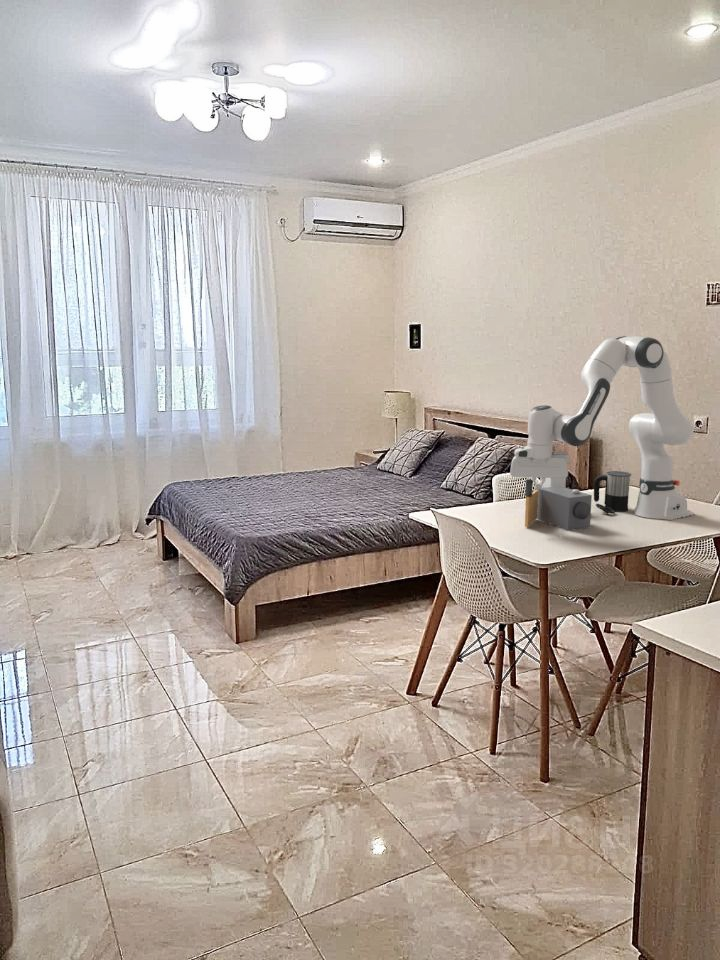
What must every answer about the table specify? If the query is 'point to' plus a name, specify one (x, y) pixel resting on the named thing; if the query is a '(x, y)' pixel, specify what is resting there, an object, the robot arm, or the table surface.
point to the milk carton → (553, 482)
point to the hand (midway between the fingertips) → (538, 489)
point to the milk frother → (613, 491)
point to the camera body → (564, 507)
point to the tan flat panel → (530, 503)
